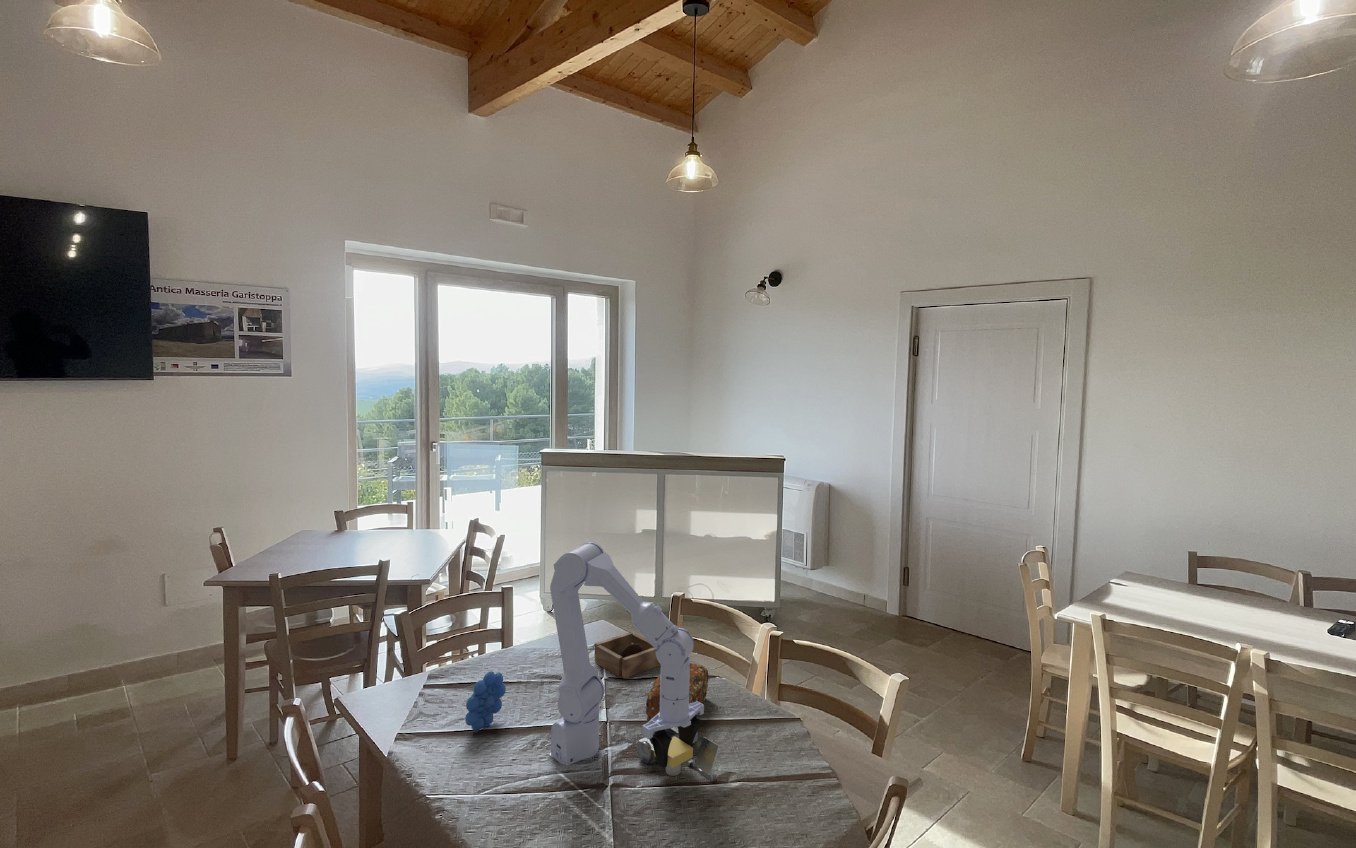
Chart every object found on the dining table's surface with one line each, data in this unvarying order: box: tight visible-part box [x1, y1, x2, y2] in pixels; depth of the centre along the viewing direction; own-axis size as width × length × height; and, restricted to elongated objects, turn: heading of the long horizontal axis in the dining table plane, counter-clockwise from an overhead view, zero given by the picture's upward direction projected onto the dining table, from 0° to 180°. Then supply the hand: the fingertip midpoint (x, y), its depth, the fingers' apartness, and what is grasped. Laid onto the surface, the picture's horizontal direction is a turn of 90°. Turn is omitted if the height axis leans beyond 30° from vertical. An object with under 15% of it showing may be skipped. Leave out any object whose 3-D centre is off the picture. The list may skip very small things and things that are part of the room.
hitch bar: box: [636, 727, 718, 783], centre depth 138 cm, size 13×16×5 cm
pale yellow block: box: [654, 736, 694, 777], centre depth 135 cm, size 5×5×6 cm
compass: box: [620, 642, 643, 658], centre depth 185 cm, size 8×8×7 cm
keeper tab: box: [689, 736, 721, 781], centre depth 136 cm, size 6×6×1 cm
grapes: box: [464, 670, 507, 732], centre depth 153 cm, size 12×7×12 cm, turn 152°
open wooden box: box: [594, 632, 661, 679], centre depth 186 cm, size 13×13×5 cm
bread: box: [645, 662, 709, 723], centre depth 160 cm, size 19×11×10 cm, turn 163°
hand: (673, 759), depth 135 cm, fingers closed on pale yellow block, 5 cm apart
